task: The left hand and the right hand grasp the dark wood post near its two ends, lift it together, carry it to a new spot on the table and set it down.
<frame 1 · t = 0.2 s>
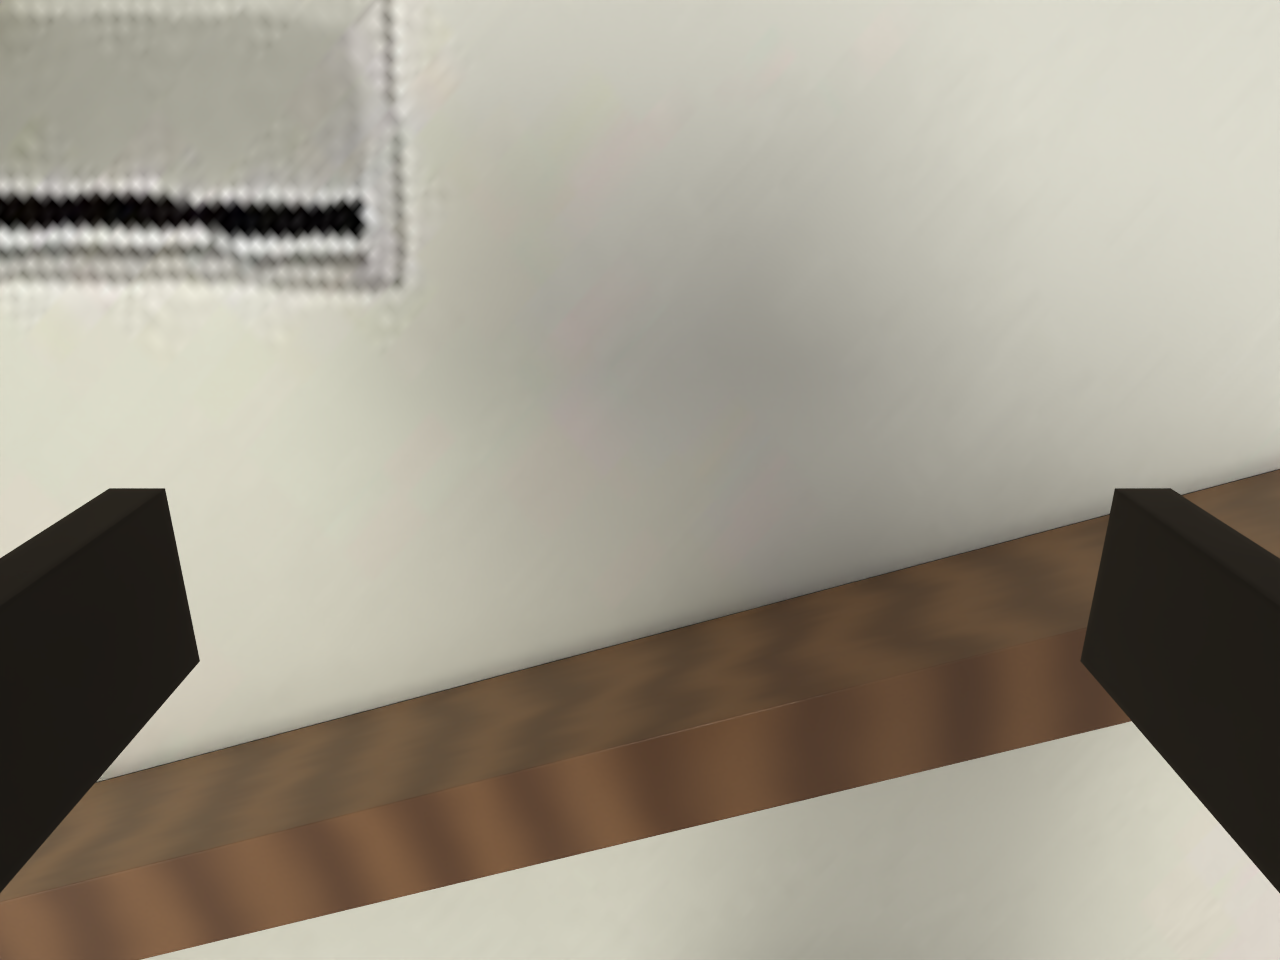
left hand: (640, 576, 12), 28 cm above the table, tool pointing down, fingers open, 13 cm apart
post: (575, 699, 46), on the table
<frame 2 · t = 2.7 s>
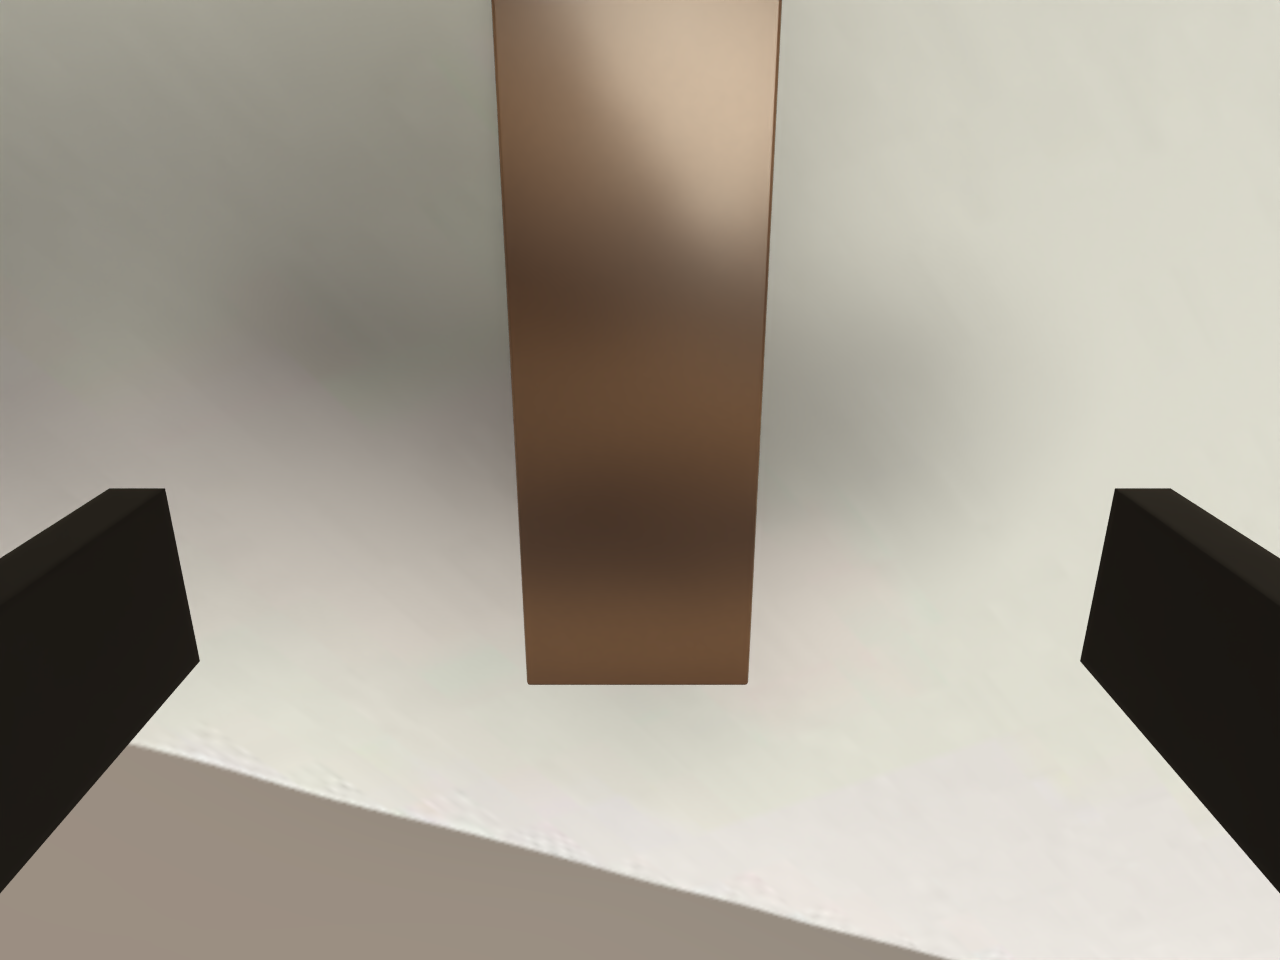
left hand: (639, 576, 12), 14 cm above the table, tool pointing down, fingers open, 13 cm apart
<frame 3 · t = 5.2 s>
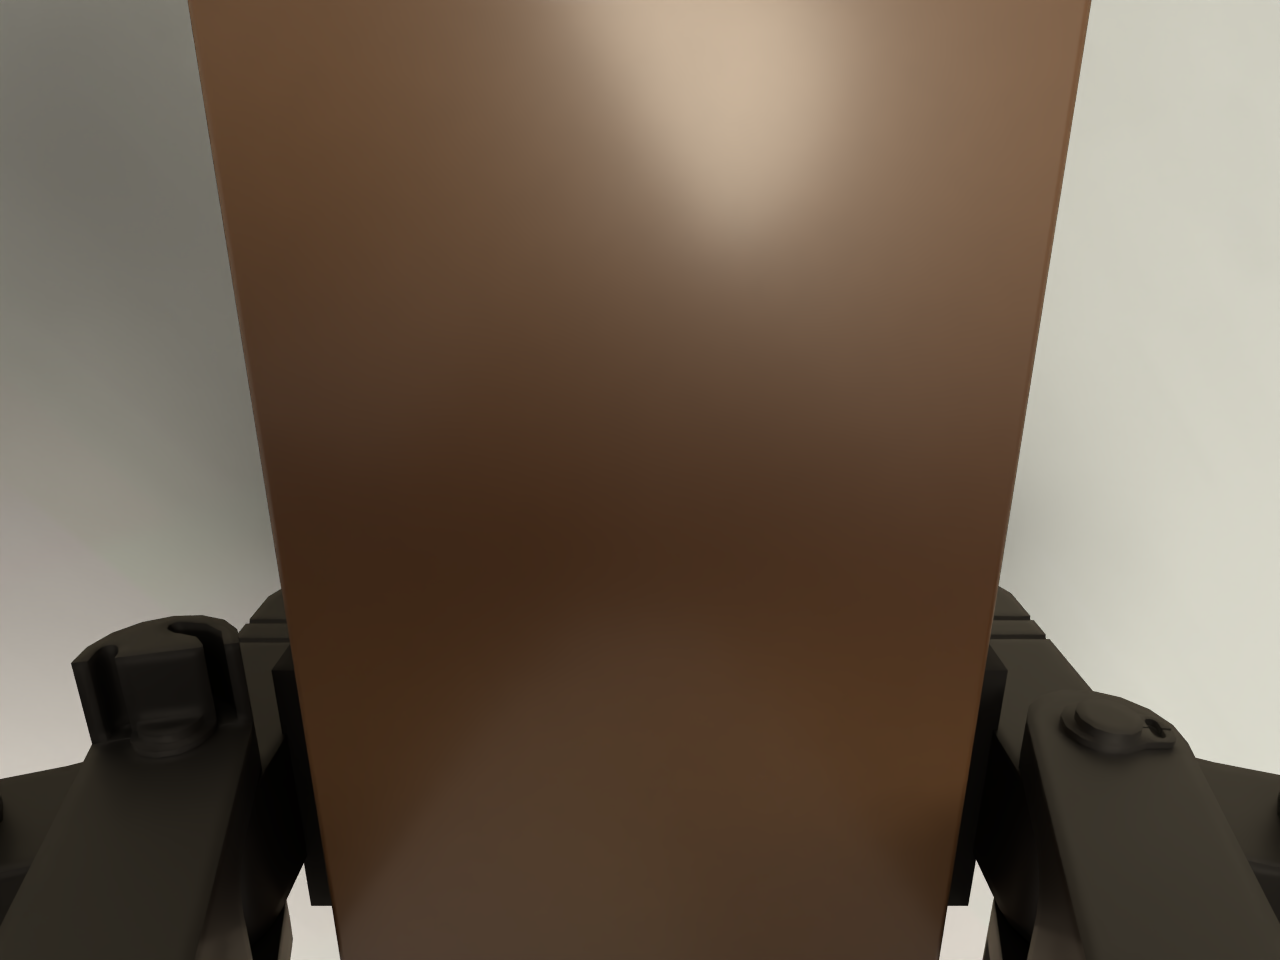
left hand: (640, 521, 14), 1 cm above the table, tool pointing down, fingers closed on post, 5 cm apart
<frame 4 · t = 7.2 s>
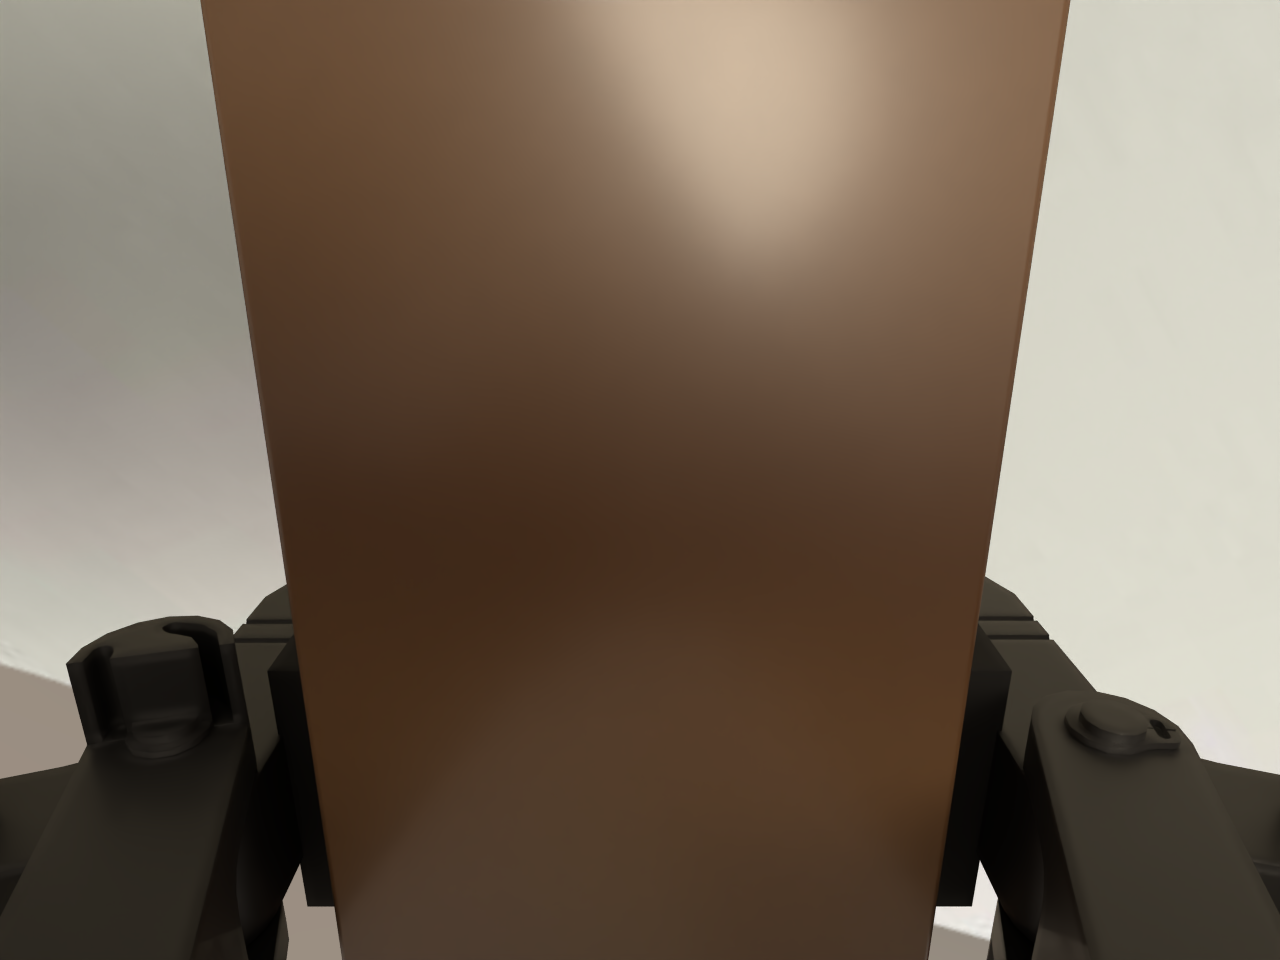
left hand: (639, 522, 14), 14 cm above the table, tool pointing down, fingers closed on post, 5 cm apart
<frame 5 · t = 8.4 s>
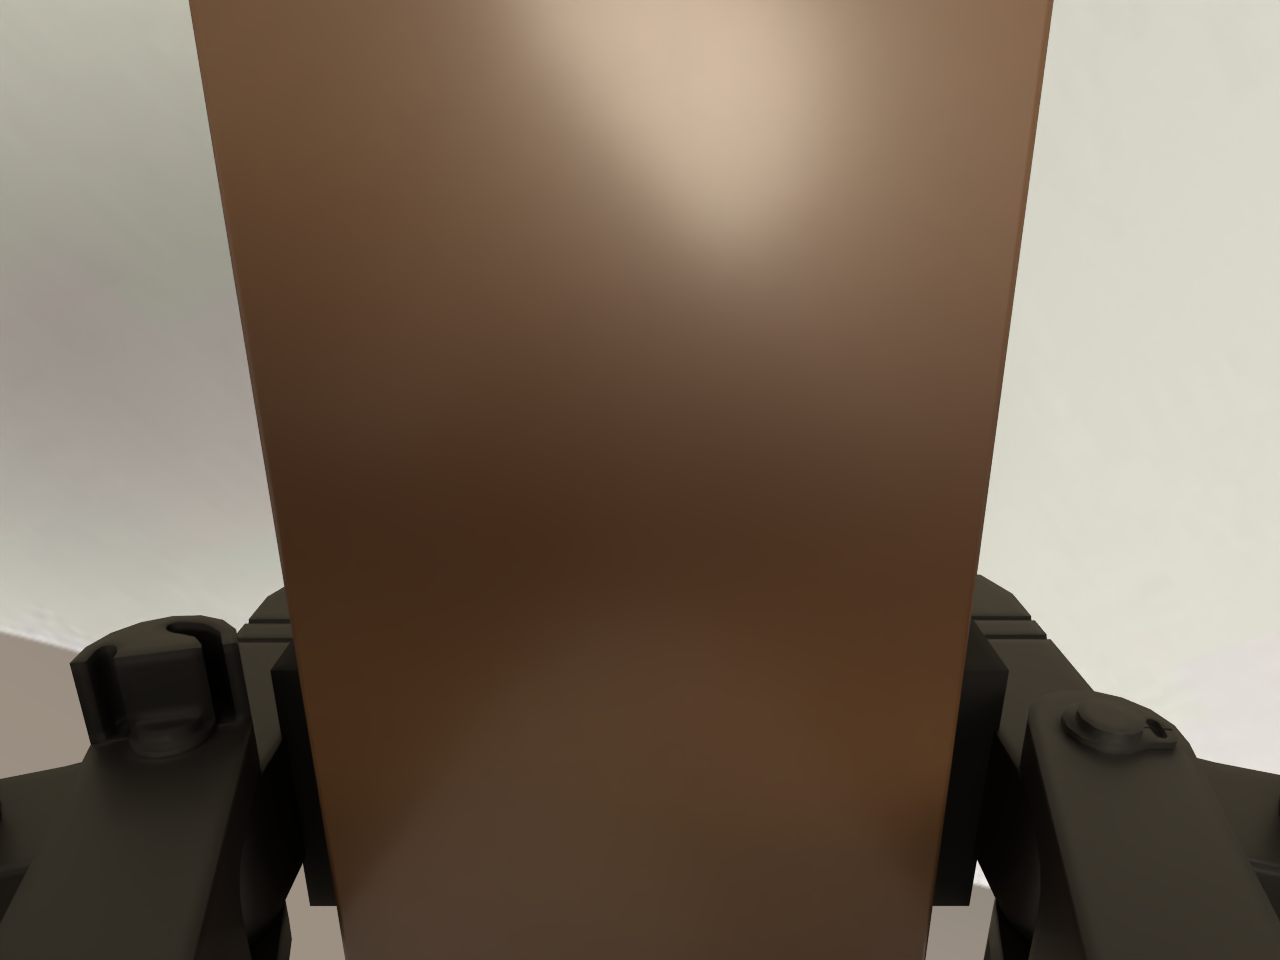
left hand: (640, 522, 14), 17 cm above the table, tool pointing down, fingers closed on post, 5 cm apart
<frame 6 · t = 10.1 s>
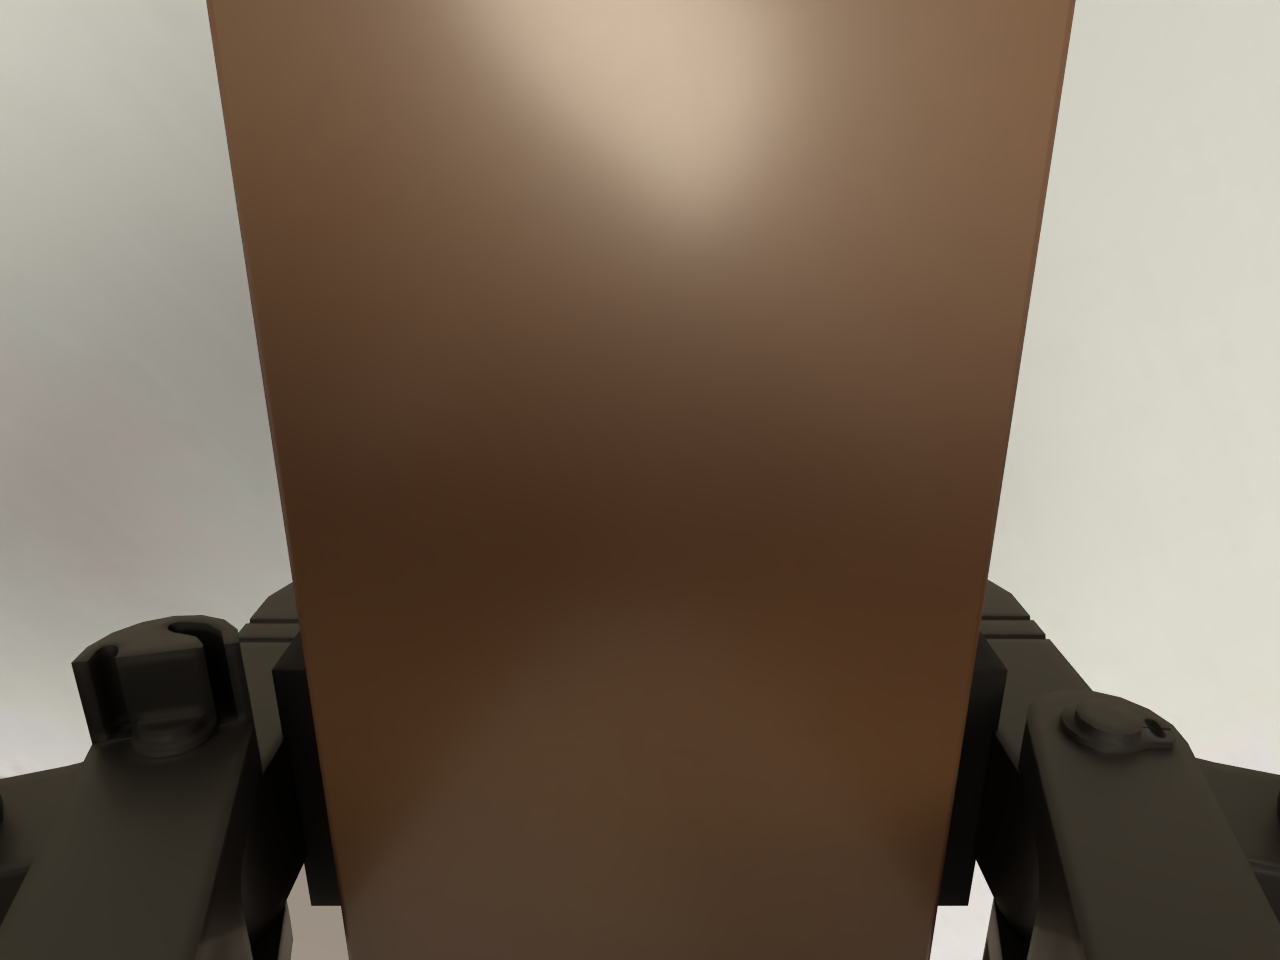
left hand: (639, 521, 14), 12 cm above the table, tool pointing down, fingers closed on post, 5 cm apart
when the left hand's fingers open (2 cm above the table, at t = 11.5 s): post drops 1 cm, on the table.
when the right hand's fingers open (5 cm above the table, at t = 11.7 s): post stays where it is, on the table.
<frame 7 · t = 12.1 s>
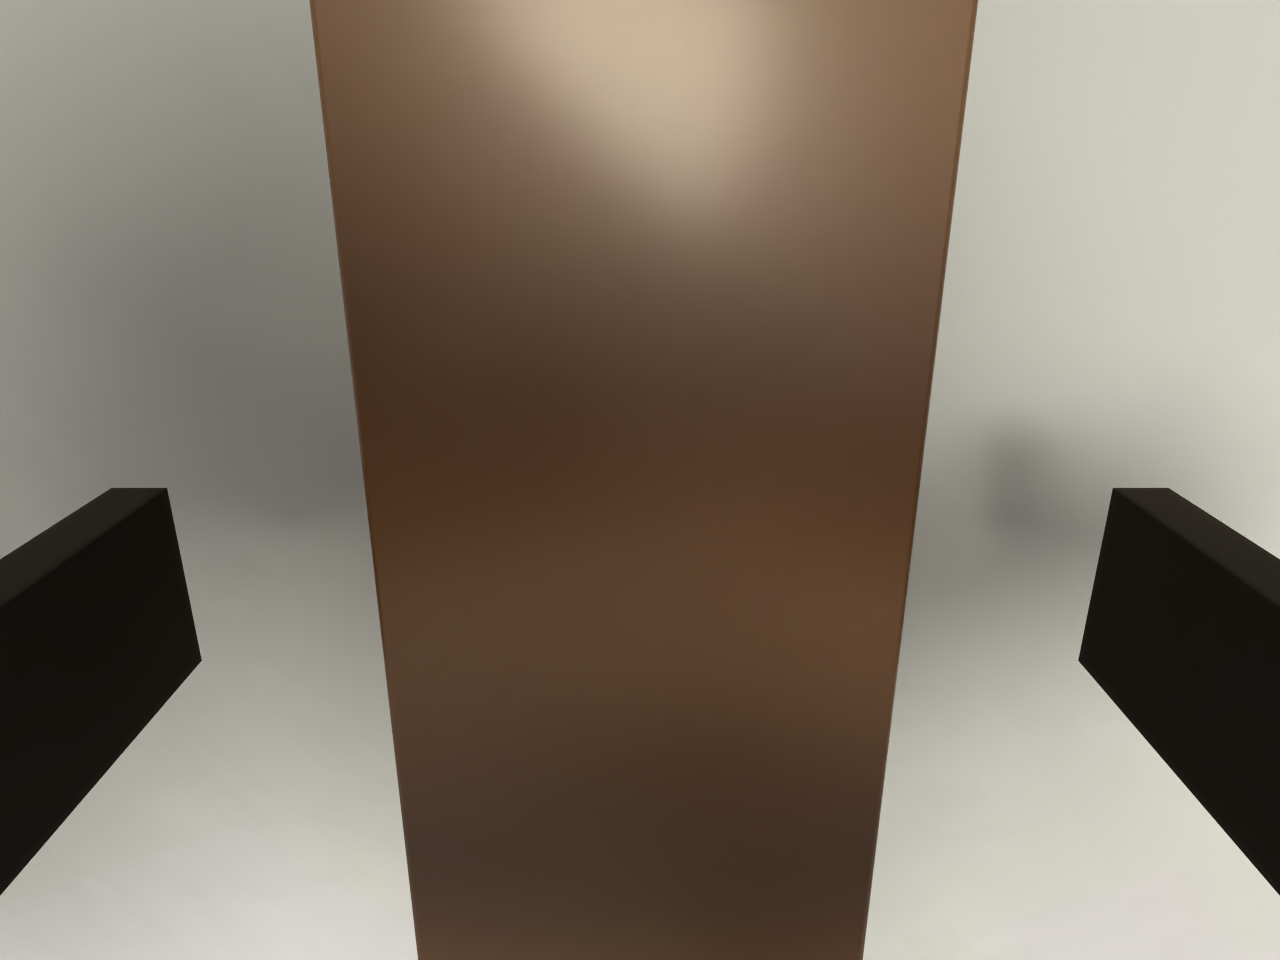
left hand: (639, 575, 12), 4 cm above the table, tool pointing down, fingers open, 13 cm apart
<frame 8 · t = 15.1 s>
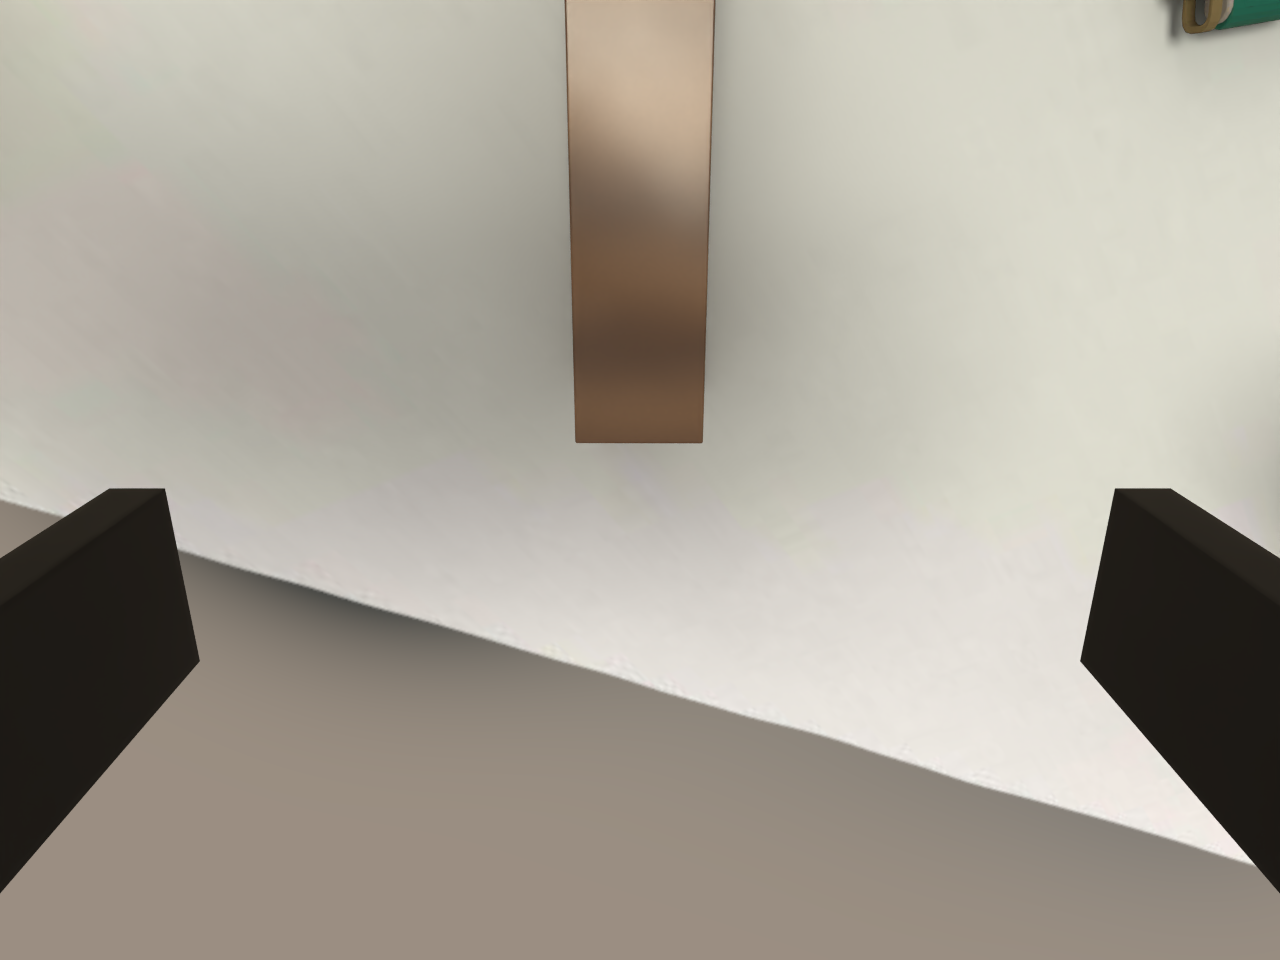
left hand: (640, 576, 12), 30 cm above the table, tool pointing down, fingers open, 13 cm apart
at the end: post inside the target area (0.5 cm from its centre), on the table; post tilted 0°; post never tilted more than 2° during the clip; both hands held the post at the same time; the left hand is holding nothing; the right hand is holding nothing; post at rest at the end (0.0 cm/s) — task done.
